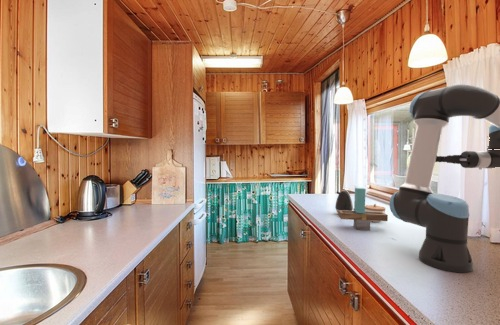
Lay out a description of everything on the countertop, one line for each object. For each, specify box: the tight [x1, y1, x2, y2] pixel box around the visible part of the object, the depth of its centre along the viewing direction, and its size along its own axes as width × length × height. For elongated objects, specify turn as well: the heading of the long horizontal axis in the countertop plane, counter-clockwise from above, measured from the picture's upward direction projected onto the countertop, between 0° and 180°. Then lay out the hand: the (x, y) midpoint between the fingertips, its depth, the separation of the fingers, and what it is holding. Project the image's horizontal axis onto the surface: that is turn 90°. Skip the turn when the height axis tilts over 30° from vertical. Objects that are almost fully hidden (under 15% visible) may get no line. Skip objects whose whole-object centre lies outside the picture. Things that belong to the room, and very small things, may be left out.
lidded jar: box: [365, 203, 386, 223], centre depth 149 cm, size 11×11×9 cm
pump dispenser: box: [334, 189, 354, 214], centre depth 162 cm, size 10×10×15 cm
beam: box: [337, 210, 389, 231], centre depth 133 cm, size 7×22×8 cm, turn 84°
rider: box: [353, 187, 366, 213], centre depth 133 cm, size 6×4×15 cm, turn 174°
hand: (417, 158), depth 120 cm, fingers closed
